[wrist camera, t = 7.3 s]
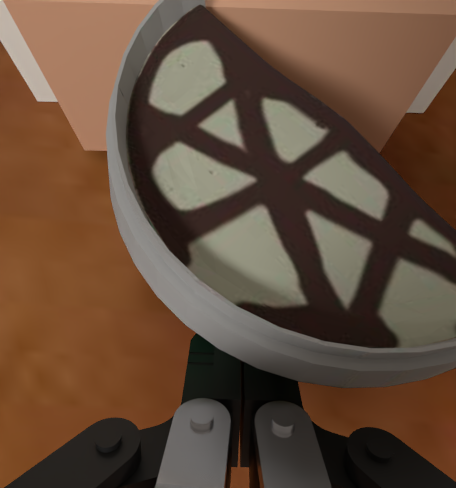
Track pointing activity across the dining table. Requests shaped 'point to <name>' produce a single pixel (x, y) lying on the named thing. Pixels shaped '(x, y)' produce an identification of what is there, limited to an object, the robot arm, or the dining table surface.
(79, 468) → the robot arm
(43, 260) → the dining table surface
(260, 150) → the food container
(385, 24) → the pink flat slab
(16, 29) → the block
